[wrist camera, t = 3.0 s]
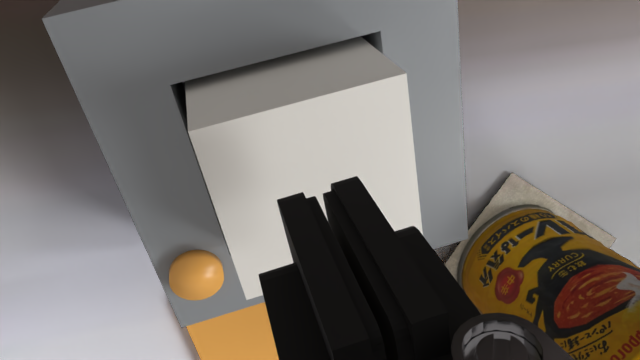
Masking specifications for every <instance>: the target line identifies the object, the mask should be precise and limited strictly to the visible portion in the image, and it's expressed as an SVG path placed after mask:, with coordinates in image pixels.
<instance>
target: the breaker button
mask: <svg viewBox="0 0 640 360" xmlns="http://www.w3.org/2000/svg"><path fill="white" fill-rule="evenodd" d="M185 91H186V107H187V123H188V133H189V136H190V139H191V142H192V145H193V148H194V150H195V153H196V156H197V159H198V162H199V165H200V168H201V171H202V173H203V176H204V179H205V182H206V185H207V188H208V191H209V194H210V196H211V199H212V202H213V205H214V208H215V211H216V214H217V217H218V219H219V222H220V225H221V228H222V231H223V234H224V237H225V240H226V242H227V245H228V248H229V251H230V254H231V257H232V260H233V263H234V265H235V268H236V271H237V274H238V277H239V280H240V283H241V286H242V288H243V291H244V294H245V297H246V300H249V299H252V298H255V297H258V296H262V295H263V292H262V288H261V284H260V280H259V274H260V273H264V272H267V271H270V270H273V269H276V268H280V267H283V266H286V265H289V264H292V263H293V259H292V255H291V252H290V248H289V244H288V241H287V237H286V233H285V230H284V226H283V222H282V218H281V215H280V211H279V207H278V203H277V199H281V198H284V197H288V196H291V195H294V194H298V193H301V192H303V193H304V195H305V197H306V198H309V197H313V196H316V198H317V200H318V202H319V204H320V206H321V208H322V210H323V212H324V214H325V216H326V218H327V214H326V209H325V204H324V200H323V193H326V192H330V191H331V183H335V182H338V181H341V180H345V179H348V178H352V177H355V176H358V178H359V179H360V180H361V182H362V183H363V185H364V186H365V188H366V189H367V191H368V192H369V194H370V195H371V197H372V198H373V200H374V201H375V203H376V204H377V206H378V207H379V209H380V210H381V212H382V213H383V215H384V216H385V218H386V219H387V221H388V222H389V224H390V225H391V227H392V228H393V230H394V231H398V230H401V229H404V228H407V227H410V226H415V227H416V228H417V229H418V230H419V231H420V232H421V233H422V235H423V231H422V221H421V211H420V201H419V191H418V181H417V171H416V161H415V151H414V142H413V132H412V122H411V112H410V102H409V92H408V82H407V73H406V72H405V71H403V70H402V69H401V68H400V67H398V66H397V65H396V64H395V63H393V62H392V61H391V60H390V59H388V58H387V57H386V56H385V55H383V54H382V53H381V52H380V51H378V50H377V49H376V48H375V47H373V46H372V45H371V44H370V43H368V42H367V41H366V40H364V39H363V38H362V37H361V36H359V37H355V38H351V39H347V40H343V41H340V42H336V43H332V44H328V45H324V46H320V47H316V48H312V49H308V50H305V51H301V52H297V53H293V54H289V55H285V56H281V57H277V58H273V59H270V60H266V61H262V62H258V63H254V64H250V65H246V66H242V67H238V68H235V69H231V70H227V71H223V72H219V73H215V74H211V75H207V76H203V77H199V78H196V79H192V80H188V81H185ZM327 221H328V218H327Z"/></svg>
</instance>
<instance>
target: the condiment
mask: <svg viewBox="0 0 640 360" xmlns="http://www.w3.org/2000/svg"><path fill="white" fill-rule="evenodd" d="M615 240H616V238H615V237H613V236H611V235H610V234H608V233H607V232H605V231H603V230H602V229H600V228H599V227H597V226H596V225H594V224H592V223H591V222H589V221H588V220H586V219H585V218H583V217H581V216H580V215H578V214H577V213H575V212H573V211H572V210H570V209H569V208H567V207H566V206H564V205H562V204H561V203H559V202H558V201H556V200H555V199H553V198H551V197H550V196H548V195H547V194H545V193H544V192H542V191H540V190H539V189H537V188H536V187H534V186H532V185H531V184H529V183H528V182H526V181H525V180H523V179H521V178H520V177H518V176H517V175H515V174H514V173H511V175H510V176H509V177H508V178H507V179H506V181H505V183H504V184H503V185H502V187H501V188H500V189H499V191H498V192H497V194H495V195H494V197H493V198H492V200H491V201H490V203H489V204H488V205H487V206H486V207H485V208H484V210H483V211H482V213H481V214H480V215H479V217H478V218H477V220H476V221H475V222H474V224H473V225H472V226H471V228H470V229H469V230H468V239H466V240H463V241H461V242H460V244H459V245H458V246H457V248H456V249H455V251H454V252H453V253H452V255H451V256H450V258H449V259H448V260H447V262H446V263H445V266H446V267H447V269H448V270H449V271H450V273H451V274H452V275H453V277H454V278H455V280H456V281H457V282H458V284H459V285H460V286H461V288H462V289H463V290H464V292H465V293H466V294H467V296H468V297H469V299H470V300H471V301H472V303H473V304H474V305H475V307H476V308H477V309H478V311H479V312H480V313H481V315H482V314H487V313H505V314H512V315H516V316H518V317H521V318H523V319H526V320H529V321H530V322H532V323H533V324H534V325H536V326H537V327H539V328H540V329H542V330H543V331H544V332H545V333H546V334H547V335H548V336H549V337H550V338H552V339H553V340H554V341H555V342H556V343H557V344H558V345H559V346H560V347H562V348H563V349H564V350H565V351H566V352H567V353H568V354H569V355H570V356H572V357H573V358H574V359H575V360H640V268H639V267H637V266H636V265H634V264H633V263H632V262H631V261H630V260H628V259H626V258H624V257H622V256H621V255H619V254H617V253H615V252H614V251H613V250H611V249H609V248H610V247H611V245H612V244H613V243H614V241H615Z"/></svg>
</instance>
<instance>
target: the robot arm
mask: <svg viewBox="0 0 640 360" xmlns="http://www.w3.org/2000/svg"><path fill="white" fill-rule="evenodd" d="M323 200H324V204H325V209H326V214H327V218H328V221H327V218H326V216H325V214H324V212H323V210H322V208H321V206H320V204H319V202H318V200H317V198H316V196H313V197H309V198H306V197H305V195H304V193H303V192H301V193H298V194H294V195H291V196H288V197H284V198H281V199H277V203H278V207H279V211H280V215H281V218H282V222H283V226H284V230H285V233H286V237H287V241H288V244H289V248H290V252H291V255H292V259H293V263H292V264H289V265H286V266H283V267H280V268H276V269H273V270H270V271H267V272H264V273H260V274H259V280H260V284H261V288H262V292H263V296H264V300H265V304H266V309H267V313H268V317H269V321H270V325H271V329H272V333H273V337H274V341H275V345H276V350H277V354H278V358H279V360H575V359H574V358H573V357H572V356H570V355H569V354H568V353H567V352H566V351H565V350H564V349H563V348H562V347H560V346H559V345H558V344H557V343H556V342H555V341H554V340H553V339H552V338H550V337H549V336H548V335H547V334H546V333H545V332H544V331H543V330H542V329H540V328H539V327H537V326H536V325H534V324H533V323H532V322H530V321H529V320H526V319H523V318H521V317H518V316H516V315H512V314H505V313H487V314H482V315H481V313H480V312H479V311H478V309H477V308H476V307H475V305H474V304H473V303H472V301H471V300H470V299H469V297H468V296H467V294H466V293H465V292H464V290H463V289H462V288H461V286H460V285H459V284H458V282H457V281H456V280H455V278H454V277H453V275H452V274H451V273H450V271H449V270H448V269H447V267H446V266H445V265H444V263H443V262H442V261H441V259H440V258H439V256H438V255H437V254H436V252H435V251H434V250H433V248H432V247H431V246H430V244H429V243H428V242H427V240H426V239H425V237H424V236H423V235H422V233H421V232H420V231H419V230H418V229H417V228H416V227H415V226H410V227H407V228H404V229H401V230H398V231H394V230H393V228H392V227H391V225H390V224H389V222H388V221H387V219H386V218H385V216H384V215H383V213H382V212H381V210H380V209H379V207H378V206H377V204H376V203H375V201H374V200H373V198H372V197H371V195H370V194H369V192H368V191H367V189H366V188H365V186H364V185H363V183H362V182H361V180H360V179H359V178H358V176H355V177H352V178H348V179H345V180H341V181H338V182H335V183H331V191H330V192H326V193H323Z"/></svg>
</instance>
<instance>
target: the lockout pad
mask: <svg viewBox="0 0 640 360" xmlns="http://www.w3.org/2000/svg"><path fill="white" fill-rule="evenodd" d="M186 327H187V330H188V332H189V334H190V336H191V339H192V341H193V343H194V345H195V348H196V350H197V352H198V354H199V357H200V359H201V360H279V358H278V354H277V350H276V345H275V341H274V337H273V333H272V329H271V325H270V321H269V317H268V313H267V309H266V304H265V302H263V303H260V304H257V305H253V306H250V307H247V308H244V309H241V310H237V311H234V312H231V313H228V314H224V315H221V316H218V317H215V318H212V319H208V320H205V321H202V322H199V323H195V324H192V325H189V326H186Z"/></svg>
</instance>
